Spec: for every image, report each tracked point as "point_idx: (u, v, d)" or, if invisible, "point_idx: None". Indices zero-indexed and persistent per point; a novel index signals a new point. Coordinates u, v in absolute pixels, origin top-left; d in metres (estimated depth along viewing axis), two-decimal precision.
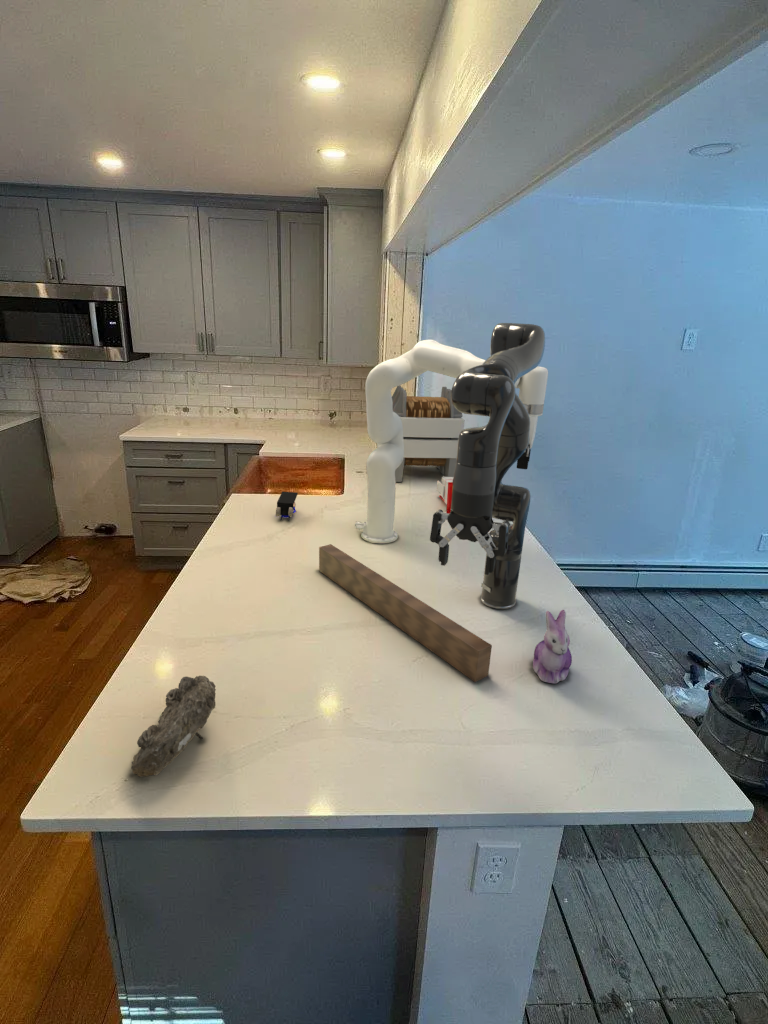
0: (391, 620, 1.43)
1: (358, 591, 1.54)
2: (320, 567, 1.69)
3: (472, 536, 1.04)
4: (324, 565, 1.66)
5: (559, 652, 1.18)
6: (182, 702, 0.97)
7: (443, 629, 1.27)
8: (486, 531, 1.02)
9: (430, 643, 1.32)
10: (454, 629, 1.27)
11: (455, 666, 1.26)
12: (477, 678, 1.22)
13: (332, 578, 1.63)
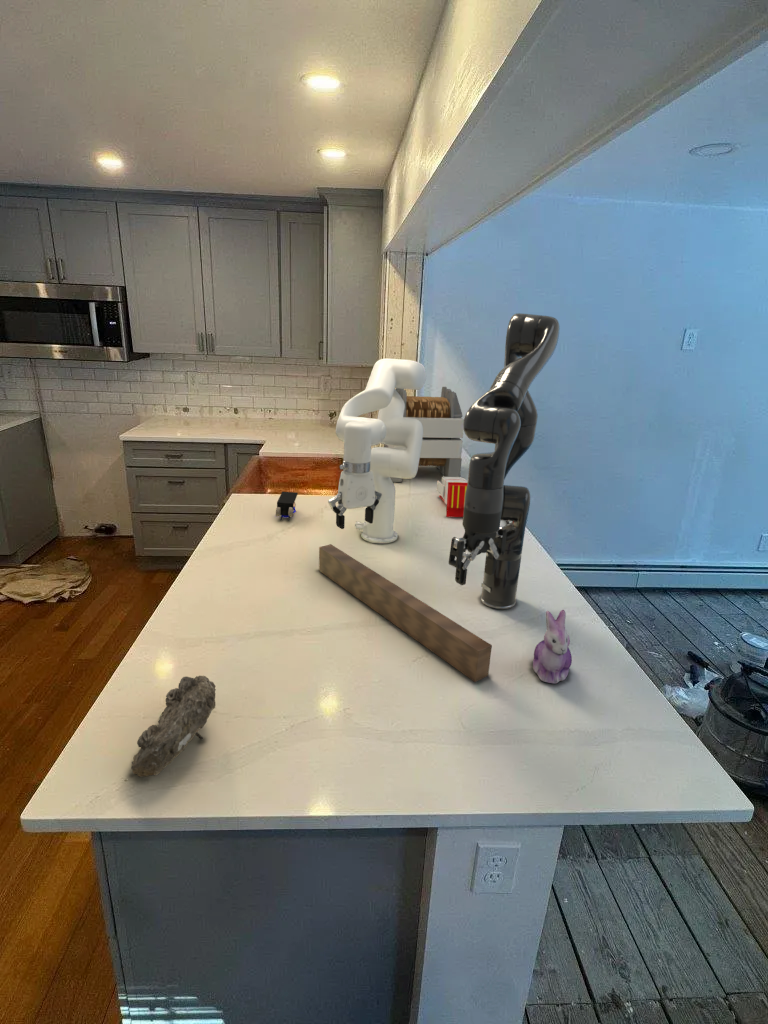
0: (391, 620, 1.43)
1: (358, 591, 1.54)
2: (320, 567, 1.69)
3: None
4: (324, 565, 1.66)
5: (559, 652, 1.18)
6: (182, 702, 0.97)
7: (443, 629, 1.27)
8: None
9: (430, 643, 1.32)
10: (454, 629, 1.27)
11: (455, 666, 1.26)
12: (477, 678, 1.22)
13: (332, 578, 1.63)
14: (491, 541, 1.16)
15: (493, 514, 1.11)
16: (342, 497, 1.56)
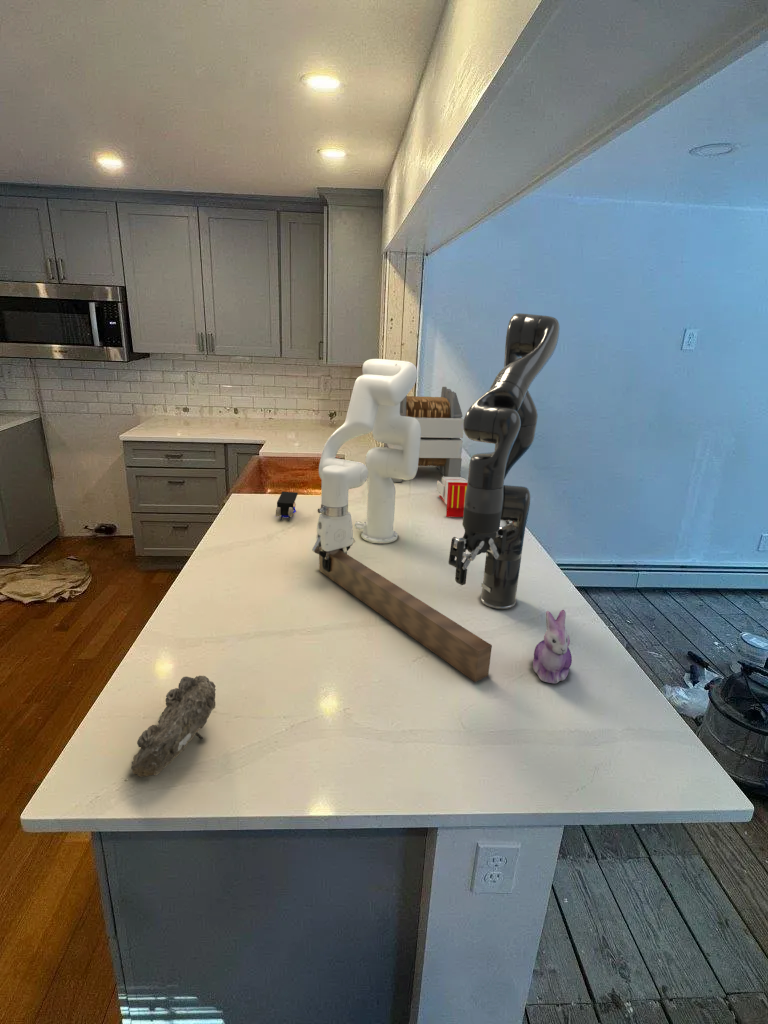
0: (391, 620, 1.43)
1: (358, 591, 1.54)
2: (320, 567, 1.69)
3: None
4: None
5: (559, 652, 1.18)
6: (182, 702, 0.97)
7: (443, 629, 1.27)
8: None
9: (430, 643, 1.32)
10: (454, 629, 1.27)
11: (455, 665, 1.26)
12: (477, 678, 1.22)
13: (333, 578, 1.63)
14: (491, 541, 1.16)
15: (493, 514, 1.11)
16: (321, 540, 1.59)
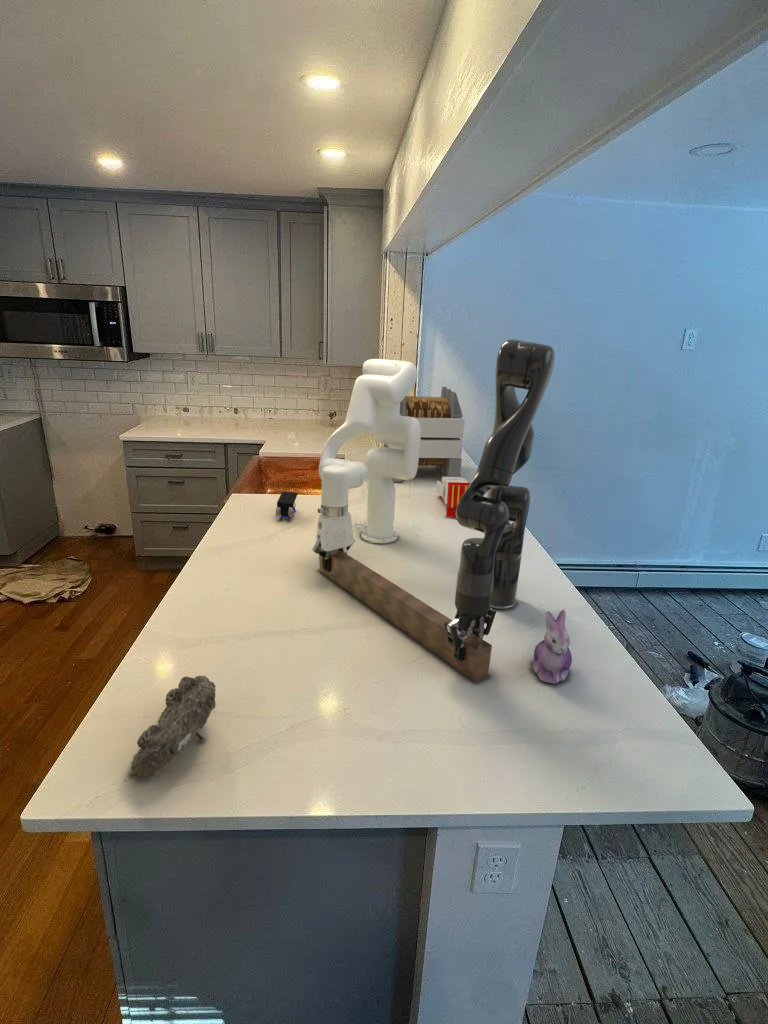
0: (391, 620, 1.43)
1: (358, 591, 1.54)
2: (320, 567, 1.69)
3: None
4: None
5: (559, 652, 1.18)
6: (182, 702, 0.97)
7: (443, 629, 1.27)
8: None
9: (430, 643, 1.32)
10: None
11: (455, 665, 1.26)
12: (477, 678, 1.22)
13: (333, 578, 1.63)
14: (482, 619, 1.22)
15: (483, 597, 1.17)
16: (321, 540, 1.59)
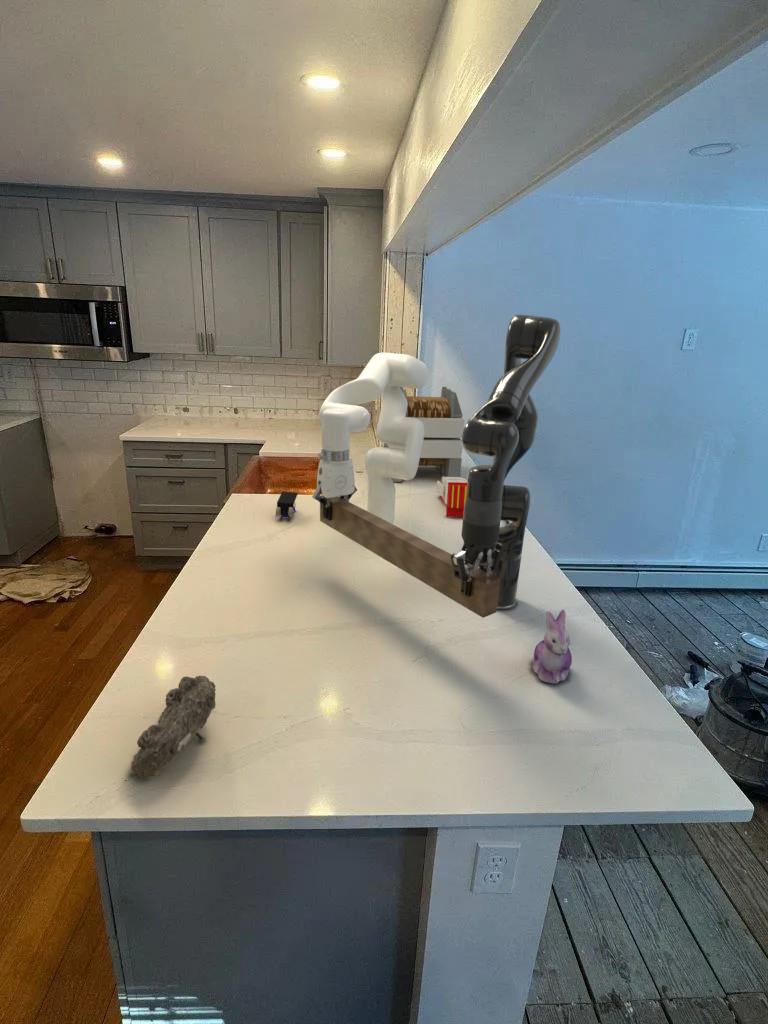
0: (395, 563, 1.38)
1: (360, 537, 1.48)
2: (320, 517, 1.63)
3: None
4: None
5: (559, 652, 1.18)
6: (182, 702, 0.97)
7: (449, 565, 1.22)
8: None
9: (435, 582, 1.27)
10: None
11: (462, 603, 1.21)
12: (485, 613, 1.17)
13: (334, 527, 1.58)
14: (490, 552, 1.16)
15: (492, 526, 1.11)
16: (321, 486, 1.54)
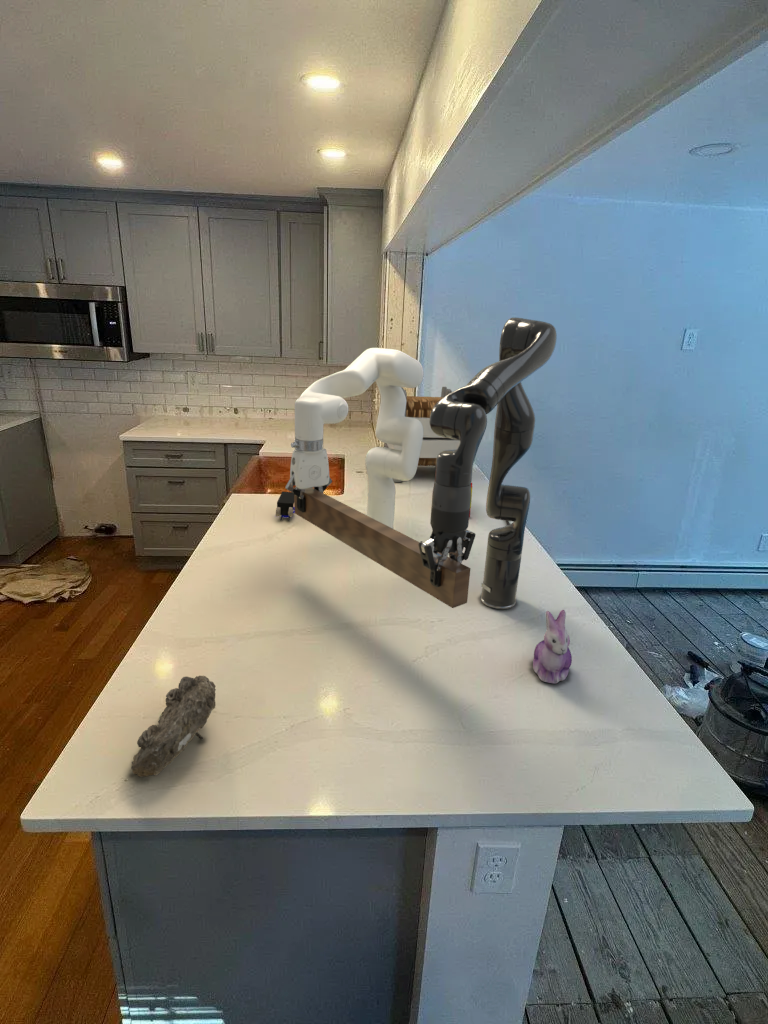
0: (366, 554, 1.34)
1: (333, 528, 1.45)
2: (295, 509, 1.60)
3: None
4: None
5: (559, 652, 1.18)
6: (182, 702, 0.97)
7: (419, 554, 1.18)
8: None
9: (406, 573, 1.23)
10: None
11: (432, 593, 1.17)
12: (455, 604, 1.13)
13: (308, 519, 1.55)
14: (460, 540, 1.13)
15: (460, 512, 1.08)
16: (294, 476, 1.50)
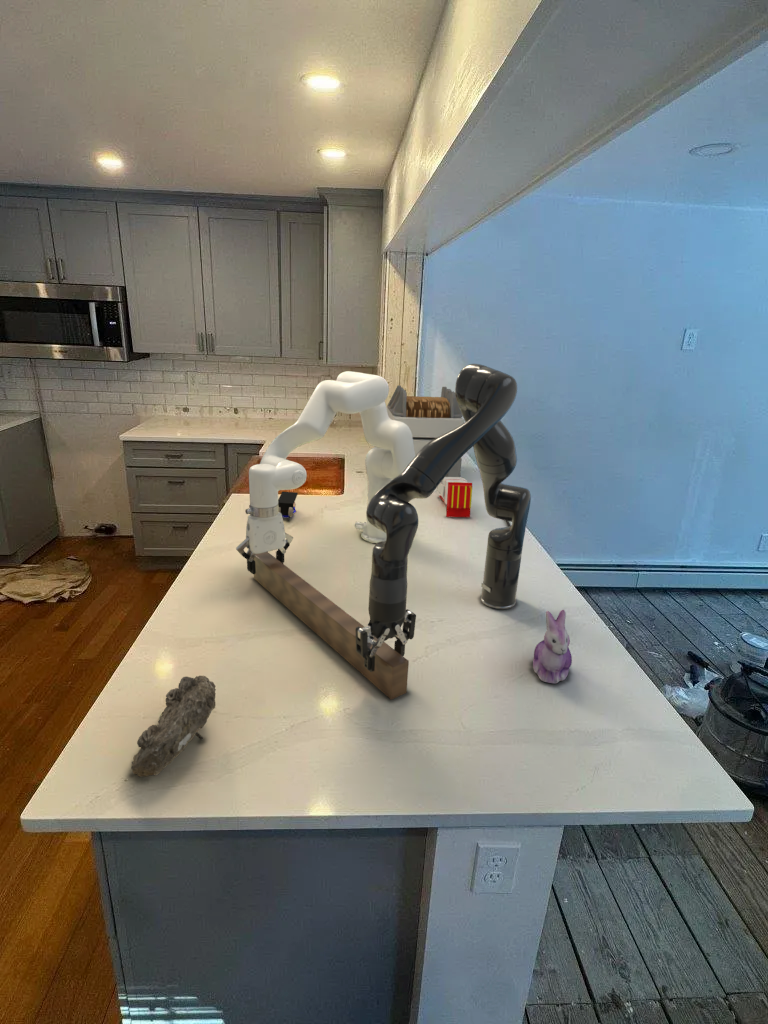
0: (316, 632, 1.37)
1: (287, 601, 1.47)
2: (254, 575, 1.62)
3: None
4: (258, 573, 1.60)
5: (559, 652, 1.18)
6: (182, 702, 0.97)
7: None
8: None
9: (350, 657, 1.25)
10: None
11: (373, 682, 1.19)
12: (393, 695, 1.15)
13: (265, 587, 1.57)
14: (398, 627, 1.14)
15: (395, 604, 1.10)
16: (249, 542, 1.52)
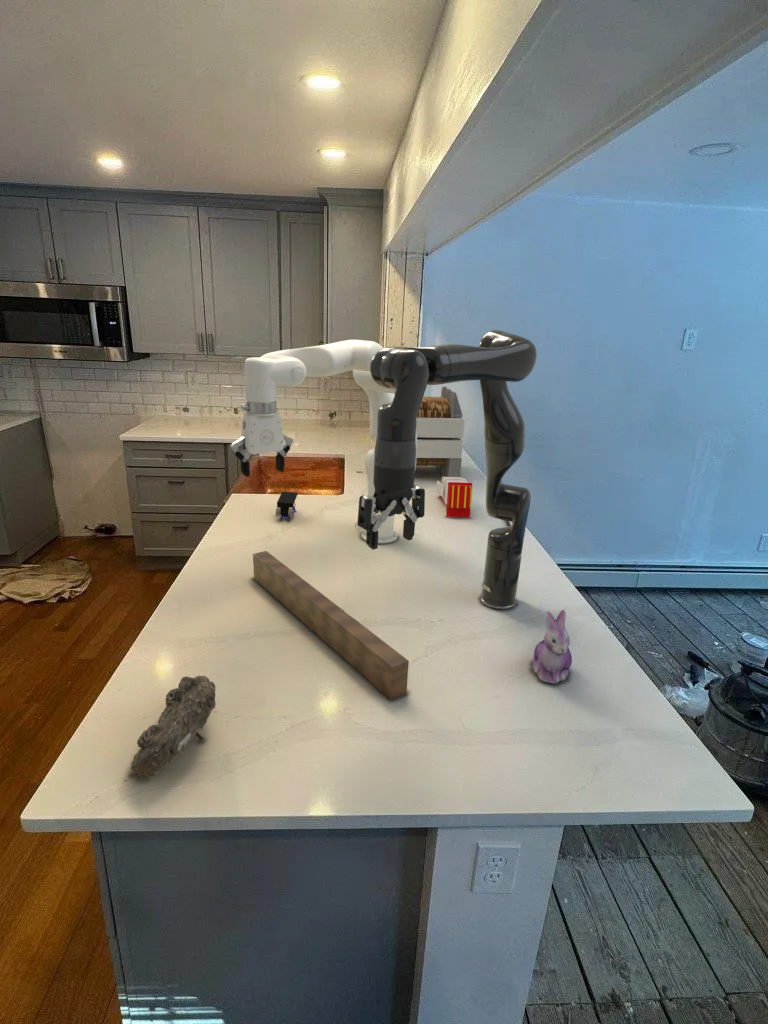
0: (316, 632, 1.37)
1: (287, 601, 1.47)
2: (254, 575, 1.62)
3: None
4: (258, 573, 1.60)
5: (559, 652, 1.18)
6: (182, 702, 0.97)
7: (361, 643, 1.21)
8: (375, 502, 1.05)
9: (350, 657, 1.25)
10: (373, 643, 1.20)
11: (373, 682, 1.19)
12: (393, 695, 1.15)
13: (265, 587, 1.57)
14: (405, 501, 1.05)
15: (403, 469, 1.00)
16: (245, 441, 1.42)
